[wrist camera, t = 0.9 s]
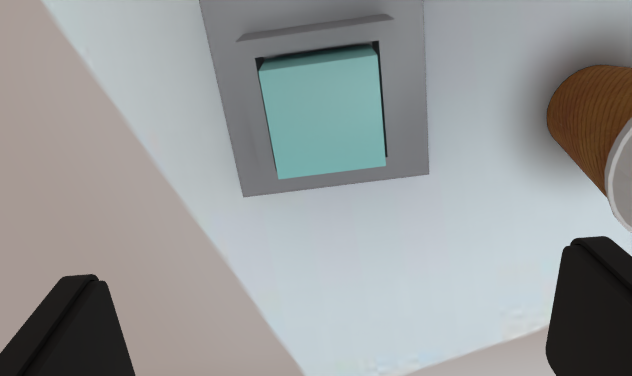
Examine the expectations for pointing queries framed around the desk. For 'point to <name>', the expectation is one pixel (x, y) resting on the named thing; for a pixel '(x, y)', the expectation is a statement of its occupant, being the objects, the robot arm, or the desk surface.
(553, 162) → the desk surface
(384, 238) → the desk surface
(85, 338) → the robot arm
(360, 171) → the button housing
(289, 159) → the button cap
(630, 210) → the disposable coffee cup
